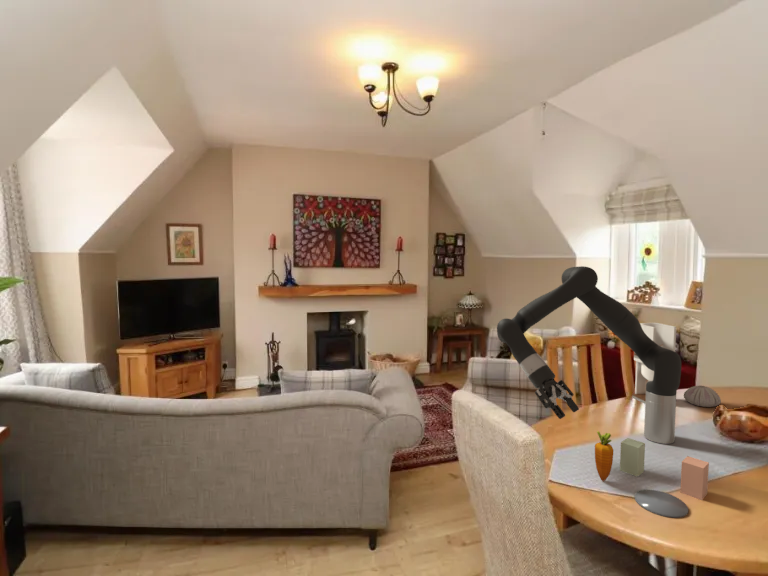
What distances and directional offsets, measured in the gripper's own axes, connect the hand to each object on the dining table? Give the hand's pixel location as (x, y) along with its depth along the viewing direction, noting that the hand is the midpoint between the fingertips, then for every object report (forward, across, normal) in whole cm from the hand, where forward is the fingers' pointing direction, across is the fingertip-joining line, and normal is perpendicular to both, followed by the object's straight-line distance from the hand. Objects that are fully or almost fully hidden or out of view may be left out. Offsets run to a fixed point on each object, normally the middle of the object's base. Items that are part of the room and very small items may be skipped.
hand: (569, 414), depth 132 cm
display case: (+8, +86, +16) cm, 88 cm away
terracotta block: (+33, +13, -9) cm, 37 cm away
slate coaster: (+30, 0, -6) cm, 31 cm away
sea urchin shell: (+19, +100, +6) cm, 102 cm away
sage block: (+22, +13, +3) cm, 26 cm away
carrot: (+20, 0, +5) cm, 20 cm away
